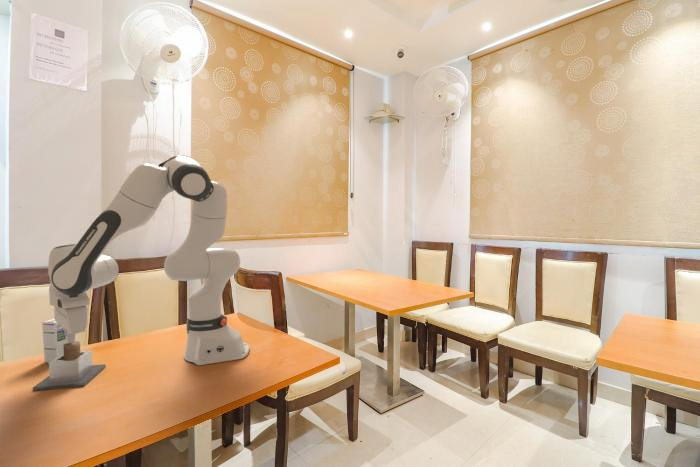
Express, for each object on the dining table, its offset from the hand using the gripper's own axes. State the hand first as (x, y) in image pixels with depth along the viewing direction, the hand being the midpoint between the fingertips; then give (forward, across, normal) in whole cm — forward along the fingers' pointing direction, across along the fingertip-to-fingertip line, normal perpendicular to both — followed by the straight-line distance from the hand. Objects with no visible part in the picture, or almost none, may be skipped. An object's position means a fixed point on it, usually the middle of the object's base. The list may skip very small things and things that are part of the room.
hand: (70, 341), depth 105 cm
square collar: (+12, 0, 0) cm, 12 cm away
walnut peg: (+11, 0, 0) cm, 11 cm away
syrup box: (+12, -20, +1) cm, 24 cm away
